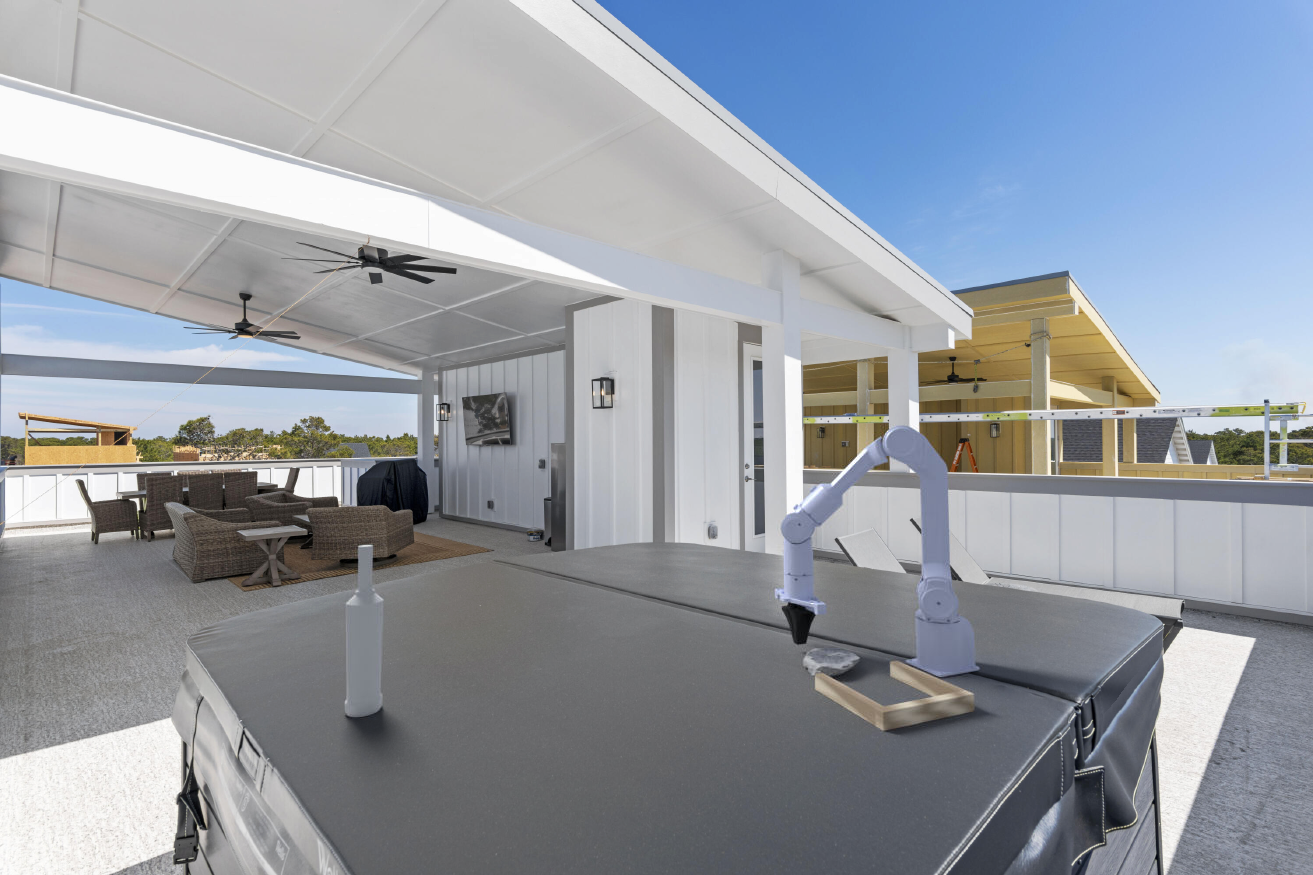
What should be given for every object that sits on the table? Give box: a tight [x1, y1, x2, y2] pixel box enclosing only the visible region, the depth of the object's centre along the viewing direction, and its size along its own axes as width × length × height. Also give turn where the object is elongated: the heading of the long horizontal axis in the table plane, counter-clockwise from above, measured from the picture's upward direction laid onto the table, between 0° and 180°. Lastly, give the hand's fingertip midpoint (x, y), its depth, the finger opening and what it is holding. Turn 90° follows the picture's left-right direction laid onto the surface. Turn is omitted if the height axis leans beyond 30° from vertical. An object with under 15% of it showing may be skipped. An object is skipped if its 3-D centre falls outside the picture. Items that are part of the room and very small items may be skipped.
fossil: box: [802, 646, 861, 678], centre depth 103 cm, size 11×4×10 cm
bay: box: [814, 660, 976, 732], centre depth 89 cm, size 17×16×2 cm
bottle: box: [344, 544, 385, 718], centre depth 88 cm, size 5×5×25 cm
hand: (800, 643), depth 112 cm, fingers closed
